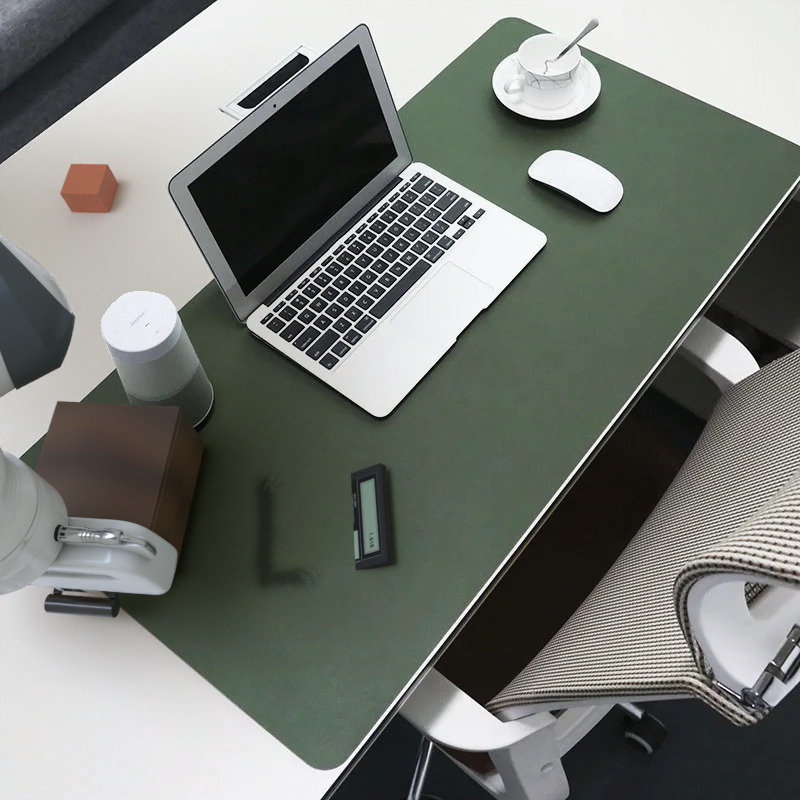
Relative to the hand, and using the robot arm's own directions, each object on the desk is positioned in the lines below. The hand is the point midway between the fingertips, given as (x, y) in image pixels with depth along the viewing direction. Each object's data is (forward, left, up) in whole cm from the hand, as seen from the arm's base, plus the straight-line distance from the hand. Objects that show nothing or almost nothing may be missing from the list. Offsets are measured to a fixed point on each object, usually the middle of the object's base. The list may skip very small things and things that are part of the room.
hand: (80, 582), depth 70 cm
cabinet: (0, +10, -7) cm, 12 cm away
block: (-14, +47, -7) cm, 49 cm away
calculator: (+19, +9, -7) cm, 22 cm away
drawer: (0, +6, -6) cm, 8 cm away
